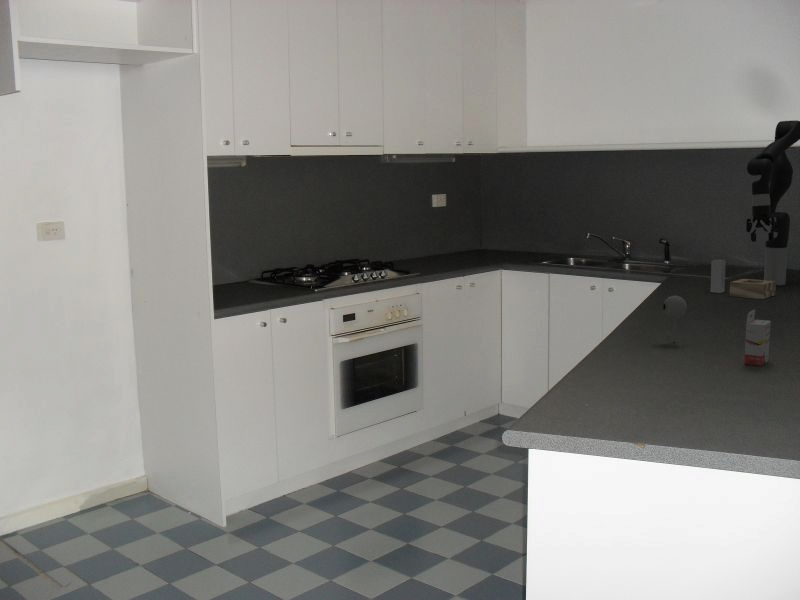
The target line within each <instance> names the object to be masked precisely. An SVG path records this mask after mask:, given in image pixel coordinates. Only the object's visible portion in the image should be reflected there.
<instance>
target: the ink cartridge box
mask: <svg viewBox="0 0 800 600" xmlns="http://www.w3.org/2000/svg"><path fill="white" fill-rule="evenodd" d="M755 315H756V309H752V310H751V311H749V312H748V313H747V316H746V323H745V341H744V342H745V343H744V365H749V366H750V365H752V366H756V367H757V366H758V367H759V366H760V367H762V366H764V365H765V364H766V363H767V362H768V361H769V355H770V354H769V353H770V342H771V341H770V340H771V338H770V337H771V323H772V320H765V319H763V320H762V319H755Z"/></svg>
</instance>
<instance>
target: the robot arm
mask: <svg viewBox="0 0 800 600" xmlns="http://www.w3.org/2000/svg"><path fill="white" fill-rule="evenodd" d="M799 141H800V120H797V119H796V120H795V119H794V120H781V121H779V122H778V123H777V124H776V127H775V132H774V141H772V142H771V143H769V144H768V145H767V146H766V147H764V149H763V150H762V151H761V153H759V154H757V155H755V156H754V157H752V158H751V159H750V160H749V161H748V163H747V165H746V172H747V173H748V175H749V176H754V177H756V176H760V178H759V179H758V180H756V181H753V182H752V183H751V214H752V218H751V217H750V218H746V223H745V224H746V226H745V227H746V232H747V233H749V234H750V241H751V242H753V243H755V242H757V233H756V232H757V230H758V229H760V228H763V231H765V232H766V233H768V240H766V241H765V248H764V250H765V251H764V271H763V274H764V275H763V280H767V281H776V286H785V285H786V280H787V258H788V257H787V255H788V243H789V238H790V226H791V217H790V214H789V213H787V212H783V211H776V209H777V206H778V204H779V202H780V200H781V199H782V197H783V196H784V195H785V194H786V193H787V191H788V190H789V189H790V188H791V185H792V182H793V174H794V169H793V165H792V163H791V162H790V160H789V157H788V156H787V154H786V153H787V152H786V151H787V150H788V149H789V148H790V147H791V146H793V145H795V144H796V143H797V142H799ZM774 233H777V235H776V236H774V235H775V234H774Z"/></svg>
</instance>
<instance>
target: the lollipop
mask: <svg viewBox="0 0 800 600" xmlns="http://www.w3.org/2000/svg"><path fill="white" fill-rule="evenodd" d="M662 308H663V311H664V313H665V315H666V316H667V317H669V318H671V319H673V322H672V323H673V326H672V327H673V328H672V343H673V342H675V343H676V322H677V321H676V320H677V319H679V318H681V317H683V316H684V315H685V313H686V312H687V309H688V306H687V302H686V300H685V299H684V298H683V297H682V296H679V295H671V296H668V297H666V298H665V300H664V302H663V307H662Z"/></svg>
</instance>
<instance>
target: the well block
mask: <svg viewBox="0 0 800 600" xmlns="http://www.w3.org/2000/svg"><path fill="white" fill-rule="evenodd" d="M776 286H777V285H776V281H767V280H764V279H763V280H762V279H753V278H752V279H750V278H740V279H737V280H734V281H730V282H729V297H733V298H734V297H735V298H746V299H747V298H748V299H758V300H764V299H767V298H771V297H773V296H775V295H776Z"/></svg>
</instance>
